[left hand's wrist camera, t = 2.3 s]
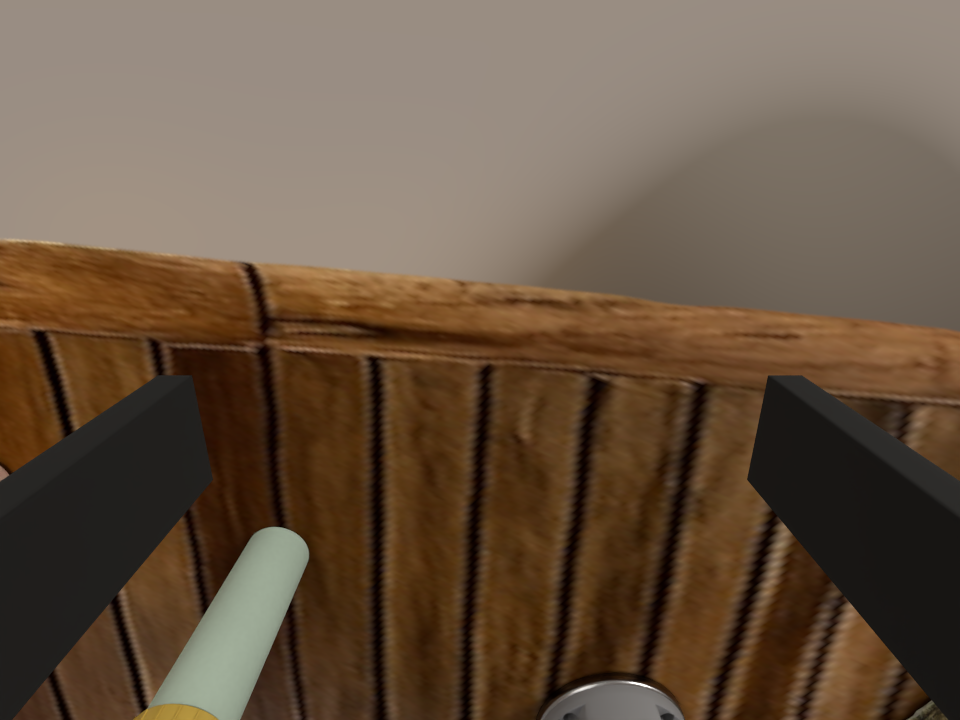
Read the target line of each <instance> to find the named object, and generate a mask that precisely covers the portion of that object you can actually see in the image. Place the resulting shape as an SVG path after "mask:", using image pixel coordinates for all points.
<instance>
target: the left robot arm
mask: <svg viewBox="0 0 960 720" xmlns="http://www.w3.org/2000/svg"><path fill="white" fill-rule="evenodd" d="M212 480H213V478H212V473H211V468H210V463H209V458H208V453H207V448H206V443H205V439H204V434H203V429H202V424H201V419H200V414H199V409H198V404H197V399H196V394H195V389H194V384H193V379H192V376H157V377H155V378H154V379H152V380H151V381H149V382H148V383H146V384H145V385H143V386H142V387H140V388H139V389H137V390H136V391H134V392H133V393H131V394H130V395H128V396H127V397H125V398H124V399H122V400H121V401H119V402H118V403H116V404H115V405H113V406H112V407H110V408H109V409H107V410H106V411H104V412H103V413H101V414H100V415H98V416H97V417H95V418H94V419H93V420H91V421H90V422H88V423H87V424H85V425H84V426H82V427H81V428H79V429H78V430H76V431H75V432H73V433H72V434H70V435H69V436H67V437H66V438H64V439H63V440H61V441H60V442H58V443H57V444H55V445H54V446H52V447H51V448H49V449H48V450H46V451H45V452H43V453H42V454H40V455H39V456H37V457H36V458H34V459H33V460H31V461H30V462H28V463H27V464H25V465H24V466H22V467H21V468H19V469H18V470H16V471H15V472H13V473H12V474H10V475H9V476H7V477H6V478H4V479H3V480H1V481H0V720H12V719H13V718H14V717H15V716H16V714H17V713H18V712H19V711H20V710H21V708H22V707H23V706H24V705H25V704H26V702H27V701H28V700H29V699H30V698H31V696H32V695H33V694H34V693H35V692H36V690H37V689H38V688H39V687H40V686H41V684H42V683H43V682H44V681H45V680H46V678H47V677H48V676H49V675H50V674H51V672H52V671H53V670H54V669H55V668H56V666H57V665H58V664H59V663H60V662H61V661H62V659H63V658H64V657H65V656H66V655H67V653H68V652H69V651H70V650H71V649H72V647H73V646H74V645H75V644H76V643H77V641H78V640H79V639H80V638H81V637H82V635H83V634H84V633H85V632H86V631H87V629H88V628H89V627H90V626H91V625H92V623H93V622H94V621H95V620H96V619H97V617H98V616H99V615H100V614H101V613H102V612H103V610H104V609H105V608H106V607H107V606H108V604H109V603H110V602H111V601H112V600H113V598H114V597H115V596H116V595H117V594H118V592H119V591H120V590H121V589H122V588H123V586H124V585H125V584H126V583H127V582H128V580H129V579H130V578H131V577H132V576H133V574H134V573H135V572H136V571H137V570H138V568H139V567H140V566H141V565H142V564H143V562H144V561H145V560H146V559H147V558H148V557H149V555H150V554H151V553H152V552H153V551H154V549H155V548H156V547H157V546H158V545H159V543H160V542H161V541H162V540H163V539H164V537H165V536H166V535H167V534H168V533H169V531H170V530H171V529H172V528H173V527H174V525H175V524H176V523H177V522H178V521H179V519H180V518H181V517H182V516H183V515H184V513H185V512H186V511H187V510H188V509H189V508H190V506H191V505H192V504H193V503H194V502H195V500H196V499H197V498H198V497H199V496H200V494H201V493H202V492H203V491H204V490H205V488H206V487H207V486H208V485H209V484H210V482H211V481H212ZM747 480H748V481H749V482H750V484H751V485H752V486H753V487H754V488H755V490H756V491H757V492H758V493H759V494H760V496H761V497H762V498H763V499H764V500H765V502H766V503H767V504H768V505H769V506H770V508H771V509H772V510H773V511H774V512H775V513H776V515H777V516H778V517H779V518H780V519H781V521H782V522H783V523H784V524H785V525H786V527H787V528H788V529H789V530H790V531H791V533H792V534H793V535H794V536H795V537H796V539H797V540H798V541H799V542H800V543H801V545H802V546H803V547H804V548H805V549H806V551H807V552H808V553H809V554H810V555H811V557H812V558H813V559H814V560H815V561H816V563H817V564H818V565H819V566H820V567H821V568H822V570H823V571H824V572H825V573H826V574H827V576H828V577H829V578H830V579H831V580H832V582H833V583H834V584H835V585H836V586H837V588H838V589H839V590H840V591H841V592H842V594H843V595H844V596H845V597H846V598H847V600H848V601H849V602H850V603H851V604H852V606H853V607H854V608H855V609H856V610H857V612H858V613H859V614H860V615H861V616H862V617H863V619H864V620H865V621H866V622H867V623H868V625H869V626H870V627H871V628H872V629H873V631H874V632H875V633H876V634H877V635H878V637H879V638H880V639H881V640H882V641H883V643H884V644H885V645H886V646H887V647H888V649H889V650H890V651H891V652H892V653H893V655H894V656H895V657H896V658H897V659H898V661H899V662H900V663H901V664H902V665H903V666H904V668H905V669H906V670H907V671H908V672H909V674H910V675H911V676H912V677H913V678H914V680H915V681H916V682H917V683H918V684H919V686H920V687H921V688H922V689H923V690H924V692H925V693H926V694H927V695H928V696H929V698H930V699H931V700H932V701H933V702H934V704H935V705H936V706H937V707H938V708H939V710H940V711H941V712H942V713H943V714H944V716H945V717H946V718H947V719H948V720H960V481H959V480H957V479H956V478H954V477H953V476H951V475H950V474H948V473H947V472H945V471H944V470H942V469H941V468H939V467H938V466H936V465H935V464H933V463H932V462H930V461H929V460H927V459H926V458H924V457H923V456H921V455H920V454H918V453H917V452H915V451H914V450H912V449H911V448H909V447H908V446H906V445H905V444H903V443H902V442H900V441H899V440H897V439H896V438H894V437H893V436H891V435H890V434H888V433H887V432H885V431H884V430H882V429H881V428H879V427H878V426H876V425H875V424H873V423H872V422H870V421H869V420H867V419H866V418H865V417H863V416H862V415H860V414H859V413H857V412H856V411H854V410H853V409H851V408H850V407H848V406H847V405H845V404H844V403H842V402H841V401H839V400H838V399H836V398H835V397H833V396H832V395H830V394H829V393H827V392H826V391H824V390H823V389H821V388H820V387H818V386H817V385H815V384H814V383H812V382H811V381H809V380H808V379H806V378H805V377H803V376H768V379H767V384H766V389H765V394H764V399H763V404H762V409H761V414H760V419H759V424H758V429H757V434H756V438H755V443H754V448H753V453H752V458H751V463H750V468H749V473H748V478H747ZM536 720H685V719H684V716H683V713H682V710H681V708H680V705H679V703H678V701H677V700H676V698H675V697H674V696H673V695H672V693H671V692H669V691H668V690H667V689H666V688H665V687H663V686H662V685H660V684H659V683H657V682H655V681H653V680H651V679H648V678H645V677H642V676H638V675H633V674H626V673H603V674H596V675H591V676H587V677H584V678H581V679H578V680H576V681H573V682H571V683H569V684H567V685H565V686H564V687H562V688H560V689H559V690H557V691H556V692H555V693H554V694H553V695H551V696H550V697H549V698H548V699H547V701H546V702H545V703H544V704H543V706H542V707H541V709H540V711H539V713H538V715H537V719H536Z"/></svg>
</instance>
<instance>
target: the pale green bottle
mask: <svg viewBox="0 0 960 720" xmlns="http://www.w3.org/2000/svg"><path fill="white" fill-rule="evenodd" d="M308 559H309V551H308V547H307V545H306V543H305V542H304V540H303V539H302V538H301V537H300V536H299V535H297V534H296V533H294V532H293V531H291V530H288V529H285V528H281V527H269V528H265V529H262V530H260V531H258V532H256V533H255V534H254V535H253V536H252V537H251V539H250V540H249V542H248V544H247V545H246V547H245V549H244V550H243V552H242V553H241V555H240V557H239V558H238V560H237V562H236V563H235V565H234V567H233V568H232V570H231V572H230V573H229V575H228V577H227V578H226V580H225V582H224V583H223V585H222V586H221V588H220V590H219V591H218V593H217V595H216V596H215V598H214V600H213V601H212V603H211V605H210V606H209V608H208V610H207V611H206V613H205V614H204V616H203V618H202V619H201V621H200V623H199V624H198V626H197V628H196V629H195V631H194V633H193V634H192V636H191V638H190V639H189V641H188V643H187V644H186V646H185V647H184V649H183V651H182V652H181V654H180V656H179V657H178V659H177V661H176V662H175V664H174V666H173V667H172V669H171V671H170V672H169V674H168V675H167V677H166V679H165V680H164V682H163V684H162V685H161V687H160V689H159V690H158V692H157V694H156V695H155V697H154V699H153V700H152V702H151V704H150V705H149V707H148V708H147V709H149V708H151V707H154V706H157V705H163V704H183V705H189V706H193V707H196V708H199V709H202V710H204V711H206V712H208V713H210V714H212V715H213V716H215V717H216V718H217V719H219V720H240V719H241V716H242V714H243V712H244V709H245V707H246V705H247V702H248V700H249V698H250V695H251V693H252V691H253V688H254V686H255V684H256V681H257V679H258V677H259V674H260V672H261V670H262V667H263V665H264V663H265V660H266V658H267V656H268V653H269V651H270V649H271V646H272V644H273V642H274V639H275V637H276V635H277V632H278V630H279V628H280V625H281V623H282V621H283V618H284V616H285V614H286V611H287V609H288V607H289V604H290V602H291V600H292V597H293V595H294V593H295V590H296V588H297V586H298V583H299V581H300V579H301V576H302V574H303V572H304V569H305V567H306V565H307V562H308Z"/></svg>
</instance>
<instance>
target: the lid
mask: <svg viewBox="0 0 960 720" xmlns="http://www.w3.org/2000/svg"><path fill="white" fill-rule="evenodd" d="M134 720H219V719H217V718H216V717H215V716H213V715H212V714H210V713H208V712H206V711H204V710H202V709H199V708H196V707H193V706H189V705H183V704H163V705H157V706H154V707H151V708H149V709H146V710H145V711H143V712H142V713H141V714H140V715H138V716H137V717H135V718H134Z"/></svg>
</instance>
